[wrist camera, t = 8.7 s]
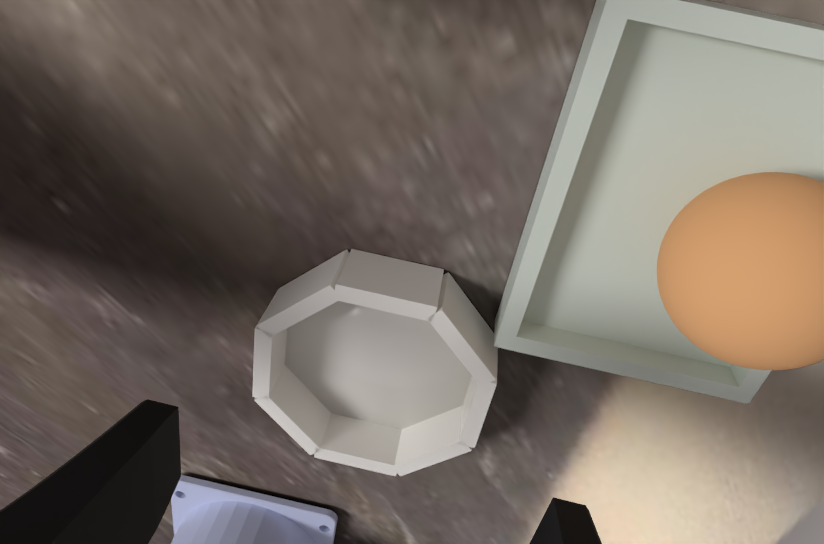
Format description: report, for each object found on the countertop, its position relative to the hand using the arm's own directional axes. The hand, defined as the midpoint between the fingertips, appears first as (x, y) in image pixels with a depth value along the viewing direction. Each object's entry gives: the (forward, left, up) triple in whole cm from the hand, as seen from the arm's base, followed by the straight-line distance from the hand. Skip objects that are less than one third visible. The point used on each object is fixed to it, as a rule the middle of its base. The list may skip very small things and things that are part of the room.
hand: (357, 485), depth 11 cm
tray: (+3, -7, -10) cm, 13 cm away
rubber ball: (+3, -7, -9) cm, 12 cm away
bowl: (-5, +1, -10) cm, 11 cm away
